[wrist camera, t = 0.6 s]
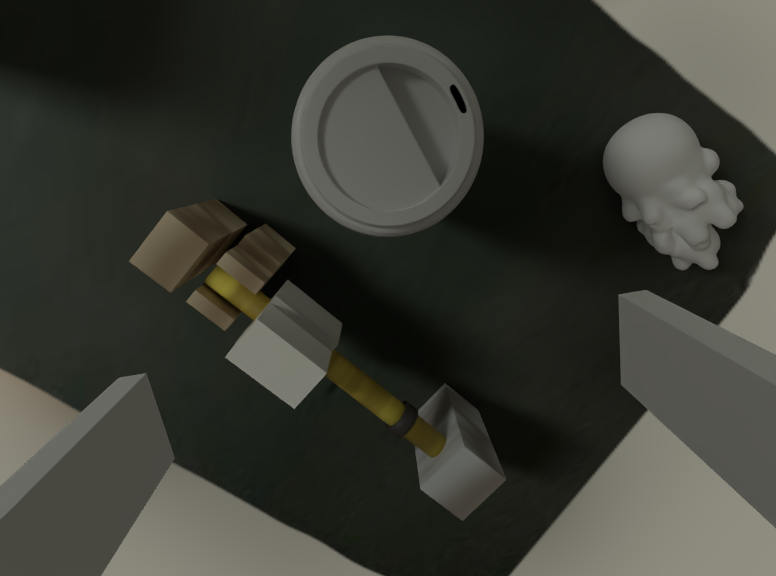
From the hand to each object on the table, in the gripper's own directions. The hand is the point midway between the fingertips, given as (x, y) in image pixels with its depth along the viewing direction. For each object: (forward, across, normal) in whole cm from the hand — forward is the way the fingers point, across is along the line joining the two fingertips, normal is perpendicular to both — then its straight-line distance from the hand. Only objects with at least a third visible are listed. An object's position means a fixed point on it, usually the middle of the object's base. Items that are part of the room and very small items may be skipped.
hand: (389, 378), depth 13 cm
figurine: (+26, +22, 0) cm, 34 cm away
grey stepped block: (+21, -7, -5) cm, 22 cm away
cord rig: (+26, -4, -8) cm, 27 cm away
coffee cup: (+26, +2, +6) cm, 27 cm away
